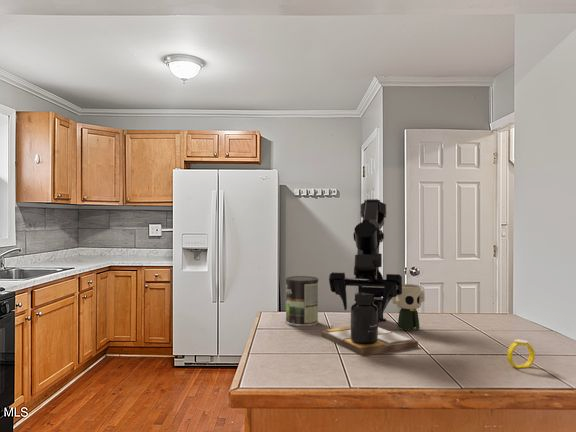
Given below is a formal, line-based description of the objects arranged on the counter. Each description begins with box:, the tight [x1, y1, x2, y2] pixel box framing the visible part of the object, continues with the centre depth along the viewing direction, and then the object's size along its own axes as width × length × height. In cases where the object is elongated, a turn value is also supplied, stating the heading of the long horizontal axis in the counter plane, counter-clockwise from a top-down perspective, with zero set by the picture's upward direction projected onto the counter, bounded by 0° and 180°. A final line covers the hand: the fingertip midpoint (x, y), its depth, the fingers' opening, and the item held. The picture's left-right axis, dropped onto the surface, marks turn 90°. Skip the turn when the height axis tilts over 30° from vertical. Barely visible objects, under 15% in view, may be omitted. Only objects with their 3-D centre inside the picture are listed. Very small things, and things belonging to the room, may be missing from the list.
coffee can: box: [285, 275, 319, 327], centre depth 143 cm, size 10×10×14 cm
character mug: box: [391, 283, 425, 331], centre depth 134 cm, size 11×7×13 cm, turn 109°
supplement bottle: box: [350, 292, 379, 344], centre depth 115 cm, size 7×7×12 cm
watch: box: [506, 338, 536, 369], centre depth 100 cm, size 6×3×6 cm, turn 101°
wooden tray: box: [320, 325, 419, 357], centre depth 121 cm, size 17×20×2 cm
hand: (363, 310), depth 114 cm, fingers open, 9 cm apart
